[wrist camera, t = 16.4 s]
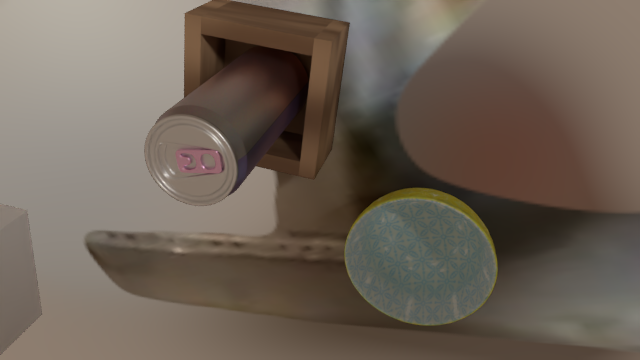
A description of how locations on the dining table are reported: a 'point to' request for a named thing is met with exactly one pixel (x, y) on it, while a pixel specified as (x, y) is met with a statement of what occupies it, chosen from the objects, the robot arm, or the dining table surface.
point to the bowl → (421, 257)
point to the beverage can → (226, 126)
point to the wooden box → (285, 34)
